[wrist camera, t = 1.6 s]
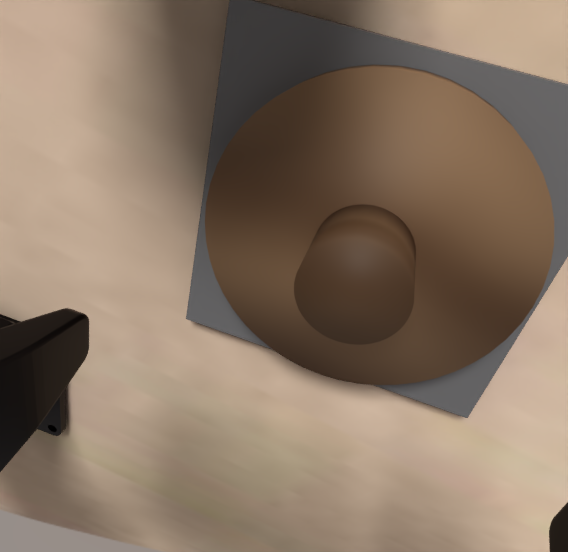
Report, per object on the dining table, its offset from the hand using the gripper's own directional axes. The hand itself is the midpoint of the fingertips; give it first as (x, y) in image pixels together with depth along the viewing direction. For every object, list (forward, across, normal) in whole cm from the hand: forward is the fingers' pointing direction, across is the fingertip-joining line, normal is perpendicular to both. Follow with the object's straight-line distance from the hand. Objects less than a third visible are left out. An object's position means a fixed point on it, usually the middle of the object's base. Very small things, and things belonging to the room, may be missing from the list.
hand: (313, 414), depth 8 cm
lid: (+8, 0, 0) cm, 8 cm away
